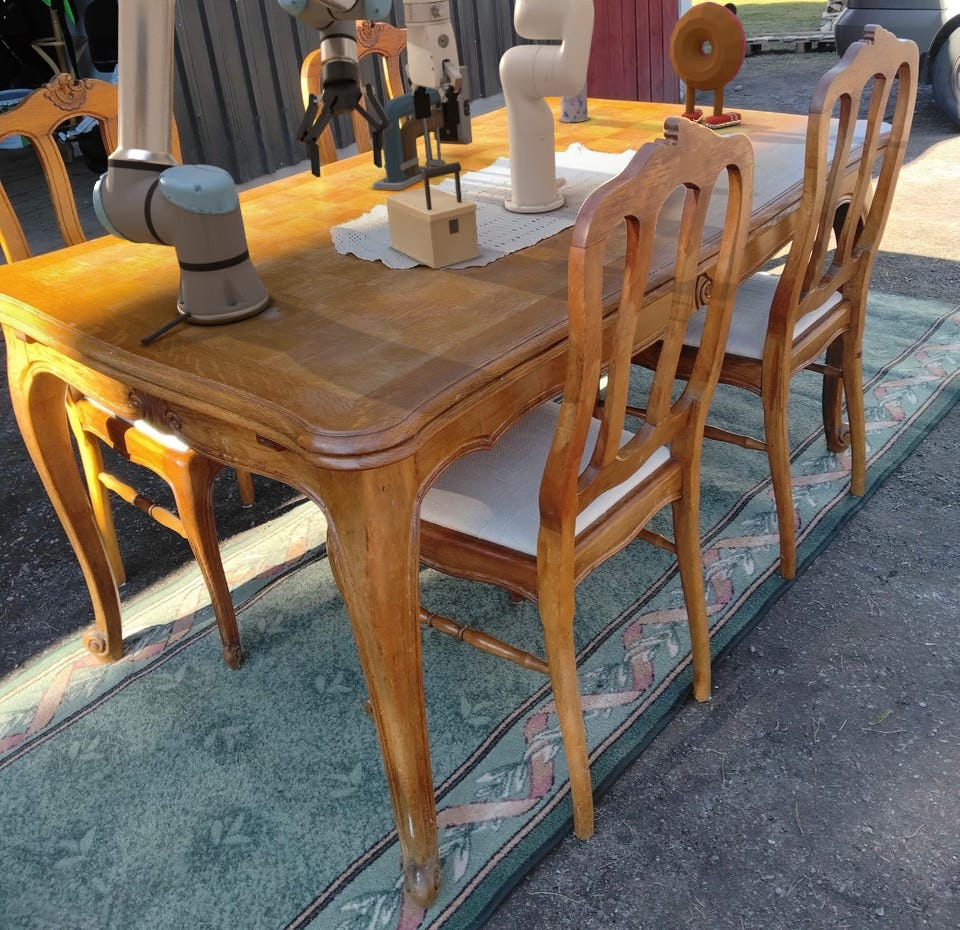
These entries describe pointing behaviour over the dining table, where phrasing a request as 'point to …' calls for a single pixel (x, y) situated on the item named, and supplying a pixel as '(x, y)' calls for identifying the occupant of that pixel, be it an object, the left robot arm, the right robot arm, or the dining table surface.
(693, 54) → the toy
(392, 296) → the dining table surface
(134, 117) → the left robot arm
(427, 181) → the lid
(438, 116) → the clamp
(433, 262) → the chest
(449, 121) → the right robot arm
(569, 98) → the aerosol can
